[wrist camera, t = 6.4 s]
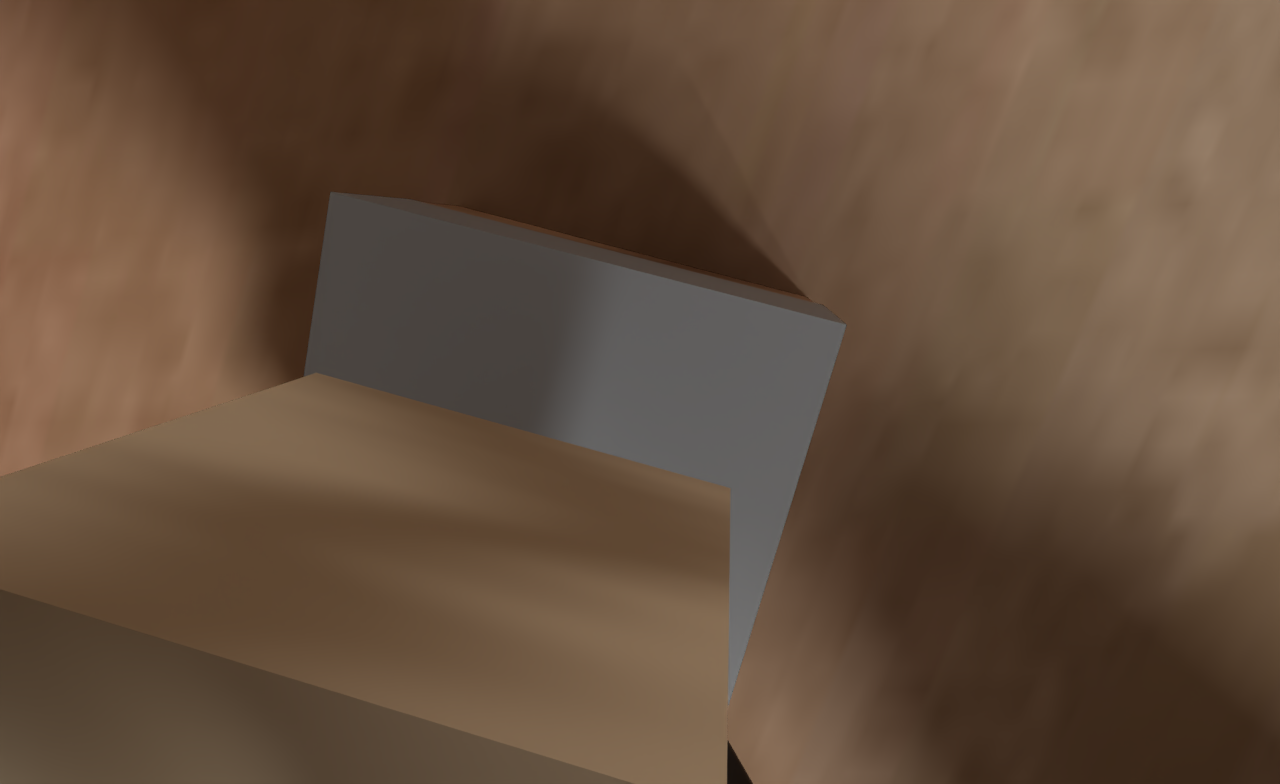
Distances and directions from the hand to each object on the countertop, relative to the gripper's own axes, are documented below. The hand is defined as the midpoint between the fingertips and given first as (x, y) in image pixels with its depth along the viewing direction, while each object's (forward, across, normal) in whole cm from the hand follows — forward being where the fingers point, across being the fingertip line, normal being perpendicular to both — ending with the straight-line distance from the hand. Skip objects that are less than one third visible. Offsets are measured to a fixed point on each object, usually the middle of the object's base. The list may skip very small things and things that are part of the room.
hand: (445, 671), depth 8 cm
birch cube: (+1, 0, 0) cm, 1 cm away
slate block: (+7, 0, 0) cm, 7 cm away
